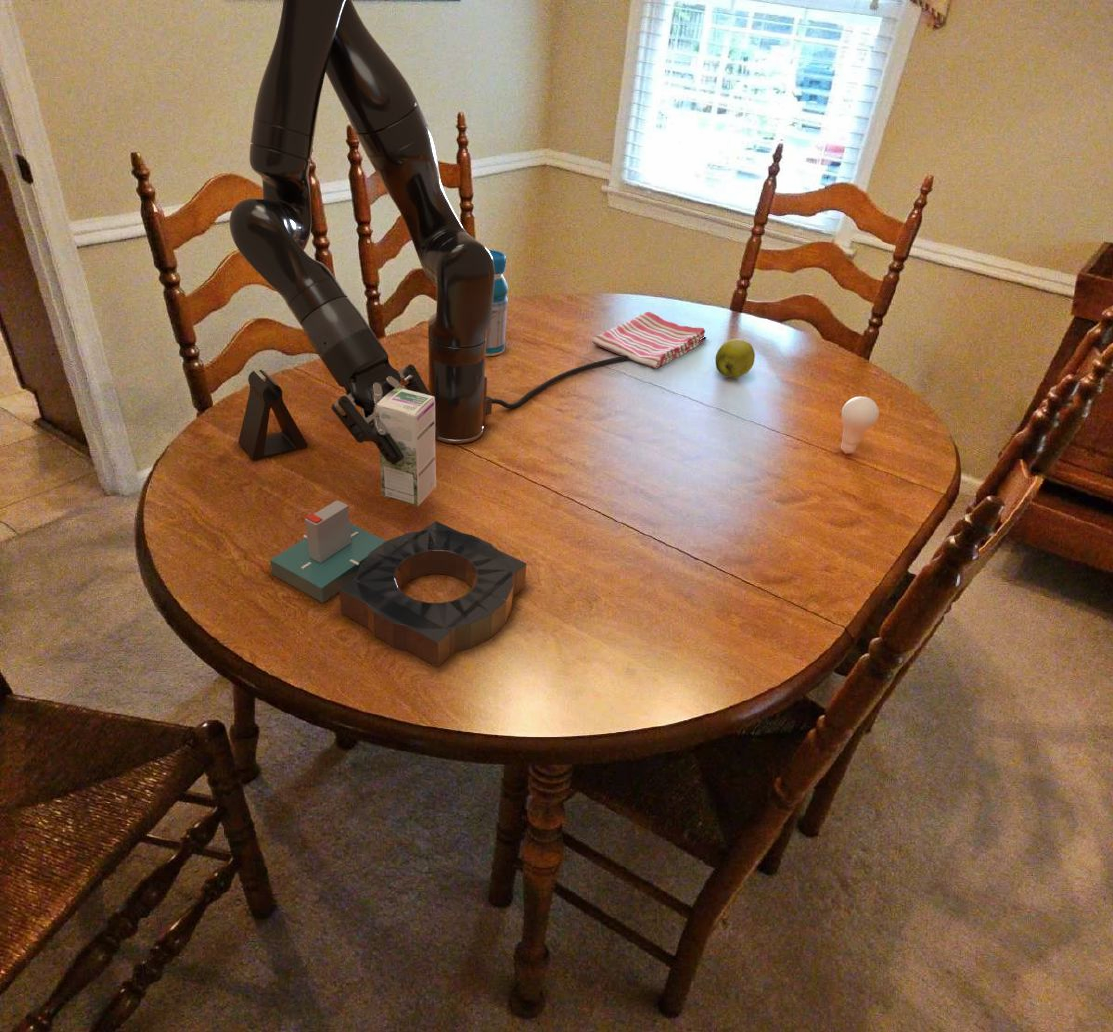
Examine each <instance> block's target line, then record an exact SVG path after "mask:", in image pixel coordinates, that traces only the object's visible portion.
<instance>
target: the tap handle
mask: <svg viewBox="0 0 1113 1032" xmlns="http://www.w3.org/2000/svg"><path fill="white" fill-rule="evenodd" d="M350 523H351V520H350V508H349V505H348V504H346V503H344V502H342V501H340V500H338V499H336V500H335V501H333V502H331V503H329V504H328V505H326V506H325V507H323V508H321V509H320V510H317V511H316V512H315V513H311V514H310V515H308V516H306V518H304V524H305V525H304V526H305V533H306V534H305V535H306V536H307V542H308V551H309V557H310V558H312V559H314V560H315V561H317V562H319V563H321V562H323V561H325V560H326V559H328V558H329V557H331V556H332V555H334V554H335V553H337V552H338V551H340V550H341V549H343V548H344V547H346V546H347V545H349V544H350V543H351V531H350Z"/></svg>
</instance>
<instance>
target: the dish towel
mask: <svg viewBox="0 0 1113 1032" xmlns="http://www.w3.org/2000/svg"><path fill="white" fill-rule="evenodd" d="M705 333H706V329H705V328H704V327H692V326H687V325H679V324H677V323H675V322H672V321H668V320H666V319H664V318H663V317H660V316H659V315H657V314H655V313H654V312H651V311H645V312H644V313H641V314H639V315H637V316H635V317H634V318H632V319H631V320H629V321H625V322H623V323H621V324H620V325H617V326H616V327H612V328H610V329H608V330H606V331H604V332H603V333H600V334H596V335H594V336H593V338H592V339H591V342H592V343H593V344H594V345H596V346H598V347H599V348H602V349H604V350H608V351H610V352H612V353H614V354H616V355H619V356H625V355H627V356H628V357H629V359H628V360H632V361H634V362H636V363H639V364H643V365H645V366H647V367H651V368H654V369H658V368H659V367H661V366H664V365H665V364H667V363H669V362H671V361H673V360H674V359H676V358H679V357H682V356H683V355H685V354H686V353H687V352H689V351H692V350H693V349H696V348H697V347H698V346H699V345H701V344H702V343H703V341H701V340H702V339H703V337H704V336H705ZM701 338H702V339H701ZM700 339H701V340H700Z"/></svg>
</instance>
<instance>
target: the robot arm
mask: <svg viewBox="0 0 1113 1032" xmlns="http://www.w3.org/2000/svg"><path fill="white" fill-rule="evenodd" d="M281 8H282V9H281V15H280V21H279V25H278V30H277V33H276V38H275V41H274V45H273V47H272V51H271V53H270V56H269V59H268V62H267V64H266V67H265V70H264V72H263V76H262V79H261V82H260V85H259V88H258V92H257V96H256V101H255V106H254V111H253V119H252V128H251V136H250V145H249V159H248V160H249V165H250V168H251V170H252V171H254V172H255V174H256V175H259V176H260V178H261V181H262V198H258V197H249V198H245V199H243V200H240V201H239V202H237V203H236V204H235V205H234V206H233V208H232V210H231V212H230V215H229V220H228V221H229V222H228V223H229V225H228V226H229V232H230V234H231V235H230V236H231V238H232V240H233V242H234V245H235V247H236V248H237V250H238V251H239V253H240V254H241V256H242V257H243V258H244V259H245V261H246V262H247V263H248V264H249V265H250V266H251V267H252V269H254V271H256V273H257V274H258V275H259V276H261V278H262V279H263V280H264V281H265V282H266V283H267V284H268V285H269V286H270V287H271V288H272V289H274V291H276V292H277V293H278V294H279V295H280V296H281V297H282V299H283V300H284V302H285V304H286V306H287V307H288V309H289V310H290V311H291V313H292V315H293V316H294V317H295V319H296V320H297V322H298V323H299V325H300V326H301V329H302V330H303V332H304V334H305V337H307V340H308V341H309V343H310V345H311V347H312V348H313V349H314V351H315V352H316V354H317V355H318V357H319V358H320V360H321V362H322V363H323V364H324V366H325V367H326V369H327V370H328V372H330V374H331V376H332V377H333V379H334V380H335V382H336V384H337V385H338V386H339V387H341V388H344V390H345V394H346V395H342V396H340V397H339V398H338V399H337V400H336V401H334V403H333V404H332V405H331V410H332V412H333V413H334V414H335V416H336V417H337V418H338V419H339V421H340V422H341V423H342V424H343V425H344V427H345V428H346V429H347V431H348V432H349V433H350V434H351V436H352V437H353V439H354V440H355V441H356V442H358V443H359V444H363V443H365V442H372V443H374V444H375V446H376V447H377V449H378V451H379V450H380V452H381V453H382V455H383V456H384V458H385V459H386V460H387V461H388V462H391V464H393V465H395V464H396V463H398V462H399V461H401V460H402V459H403V458H404V455H403V453H402V452H401V450H400V449H399V448H398V446H397V445H396V443H395V442H394V440H393V439H392V437H391V436H390V434H389V433H388V434H386V428H385V425H384V424H383V422H382V421H381V420H380V418H379V417H380V415H379V413H378V412H377V408H376V406H377V405H376V404H377V403H378V402H379V401H380V400H381V399H382V398H383V397H384V396H386V395H387V394H388V393H389V392H391V391H392V390H394V389H397V388H402V389H406V390H410V391H414V392H418V393H422V394H426V395H430V396H434V397H435V441H436V440H437V441H439V442H443V443H446V444H453V445H455V444H456V445H460V444H468V443H472V442H474V441H477V440H478V439H479V438H480V437H482V435H483V433H484V428H485V427H486V418H487V416H489V415H491V414H492V410H493V409H492V408H493V407H492V406H493V404H494V405H500V406H502V407H504V408H505V409H510V410H511V409H516V408H518V407H520V406H522V405H523V404H525V403H526V401H528V400H529V399H530V398H531V397H532V396H534V395H536V394H537V393H539V392H541V391H543V390H544V389H546V388H547V387H549V386H551V385H553V384H554V383H556V382H558V381H560V380H563V379H565V378H566V377H569V376H572V375H575V374H577V373H580V372H583V371H586V370H590V369H593V368H596V367H600V366H604V365H609V364H613V363H617V362H622V361H627V360H630V359H629V357H628V356H627V355H625V356H621V355H619V356H615V357H610V358H607V359H602V360H598V361H594V362H589V363H587V364H584V365H580V366H578V367H575V368H572V369H569V370H566V371H565V372H563V373H560V374H557V375H556V376H554V377H552V378H550V379H548V380H547V381H545V382H543V383H541V384H539V385H538V386H537V387H535V388H533V389H532V390H530V391H529V392H527V393H526V394H525V395H524V396H522V397H521V398H520V399H519V400H517V401H515V402H512V403H509V402H507V401H506V400H503V399H500V398H492V397H491V396H487V394H488V390H487V389H488V377H487V376H486V356H485V351H486V331H487V328H488V326H489V324H490V321H491V317H492V307H493V296H494V283H495V269H494V262H493V258H492V256H491V254H490V252H489V251H488V250H489V249H488V248H487V247H486V245H484V244H483V243H481V242H480V241H479V240H477V239H476V238H474V237H473V236H472V235H470V234H469V233H468V232H467V230H466V229H465V228H464V227H463V225H462V223H461V222H460V219H459V218H458V216H457V215H456V213H455V211H454V209H453V207H452V205H451V203H450V201H449V200H448V197H447V194H446V192H445V190H444V188H443V183H442V180H441V175H440V174H441V173H440V167H439V161H438V155H437V150H436V146H435V141H434V138H433V136H432V133H431V130H430V127H429V125H428V123H427V120H426V118H425V116H424V113H423V112H422V108H421V107H420V104H419V102H418V99H417V98H416V95H415V94H414V92H413V90H412V88H411V86H410V85H409V83H408V81H407V80H406V78H405V76H404V75H403V74H402V73H401V71H400V70H399V68H398V67H397V66H396V64H395V63H394V62H393V61H392V60H391V58H390V57H389V55H388V54H387V53H386V52H385V51H384V49H383V48H382V47H381V46H380V44H379V43H378V42H377V41H376V39H375V38H374V37H373V36H372V34H371V33H370V31H369V29H368V28H367V27H366V25H365V24H364V22H363V21H362V18H361V17H360V15H359V13H358V11H357V9H356V7H355V5H354V3H353V0H282V7H281ZM325 77H327V78H328V80H329V82H330V84H331V86H332V88H333V90H334V92H335V95H336V97H337V98H338V101H339V102H340V104H341V106H342V108H343V110H344V112H345V114H346V117H347V118H348V121H349V123H350V125H351V127H352V129H353V131H354V133H355V135H356V138H357V139H358V141H359V143H360V145H361V147H362V149H363V151H364V153H365V155H366V157H367V159H368V160H369V162H370V164H371V165H372V168H373V169H374V171H375V174H377V176H378V178H379V180H380V182H381V183H382V185H383V188H385V190H386V192H387V194H388V195H389V198H390V199H391V200H392V201H393V203H394V205H395V206H396V208H397V209H398V212H399V214H400V216H401V217H402V219H403V222H404V224H405V226H406V229H407V231H408V234H409V237H410V239H411V242H412V244H413V247H414V249H415V252H416V255H417V258H418V260H419V263H420V266H421V268H422V270H423V272H424V274H425V276H426V277H427V278H428V280H429V281H430V283H432V284H433V286H435V287H436V308H435V309H436V310H435V313H434V314H432V315H431V316H430V317H429V319H428V322H427V353H428V355H427V357H428V361H427V362H428V365H427V367H428V368H427V369H428V387H427V386H426V385H425V382H424V381H423V379H422V377H421V375H420V374H419V372H418V370H417V368H416V367H415V366H414V365H413V364H411V363H410V364H408V365H407V366H405V367H404V368H402V369H399V370H397V369H395V368H394V367H393V366H392V365H391V364H390V360H389V353H388V352H387V351H386V350H385V347H384V346H383V345H382V343H381V342H380V340H379V338H377V335H376V334H375V333H374V331H373V330H372V328H371V326H370V325H369V324H368V322H367V320H366V319H365V317H364V315H362V313H361V312H360V310H359V309H358V307H357V306H355V304H354V303H353V302H352V301H351V300H350V298H349V297H348V295H347V294H346V292H345V290H344V289H343V288H342V286H341V285H340V283H339V282H338V280H337V279H336V276H335V275H334V274H333V273H332V271H331V270H330V269H329V268H328V267H327V266H326V265H325V264H324V263H323V262H320V261H319V260H317V259H314V258H312V257H311V256H309V255H308V253H307V252H306V251H305V249H306V247H307V246H308V243H309V240H310V237H311V231H312V202H311V201H312V200H311V187H310V178H309V173H310V172H309V171H310V166H311V160H312V155H313V154H312V153H313V146H314V141H315V133H316V126H317V121H318V113H319V107H320V101H321V96H322V92H323V91H322V90H323V84H324V81H325ZM706 339H707V336H706V337H704V338H703V339H702V340H701V341H702V342H704V341H705V340H706ZM357 407H358V408H360V410H361V413H360V412H359V410H358V409H357Z"/></svg>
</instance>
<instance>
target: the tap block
mask: <svg viewBox="0 0 1113 1032" xmlns="http://www.w3.org/2000/svg"><path fill="white" fill-rule="evenodd" d="M350 531H351V543H350V544H349V545H347V546H346V547H344V548H343V549H341V550H340V551H338V552H337V553H335V554H334V555H332V556H331V557H329V558H328V559H326V560H325V561H323V562H321V563H319V562H317V561H315V560H314V559H312V558H310V557H309V551H308V542H307V534H303V535H302V538H303V539H301V540H300V541H297V542H295V544H293V545H291V546H289V547H288V548H287V549H285V550H283V551H281V552H280V553H278V554H277V555H275V556H274V557H272V558H270V560H269V562H270V568H271V575H272V576H274V577H275V578H277V579H279V580H281V581H283V582H284V583H286V584H288V585H290V586H292V587H293V588H295V589H297V590H299V591H301V592H302V593H304V594H306V595H308V596H310V597H311V598H312V599H315V600H316V601H318V602H320V603H321V604H324V603H326V602H327V601H328V600H330V599H332V598H333V597H335V596H336V595H337V594H338V593H339V589H340V588H341V587H342V586H344V585H345V584H347V583H348V582H349V581H351V580H352V579H354V578H355V577H356V576H358V572H359V567H360V565H361V564H362V562H363V561H364V560H365V558H366V557H367V556H368V554H369V553H370V552H371V551H373V550H374V549H376V548H377V547H379V546H380V545H381V544H383V543H384V542H386V541H387V540H386V539H384V538H382V537H380V536H378V535H376V534H374V533H372V532H370V531H368V530H366V529H364V528H362V527H360V526H358V525H356V524H354V523H352V522H350Z"/></svg>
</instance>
